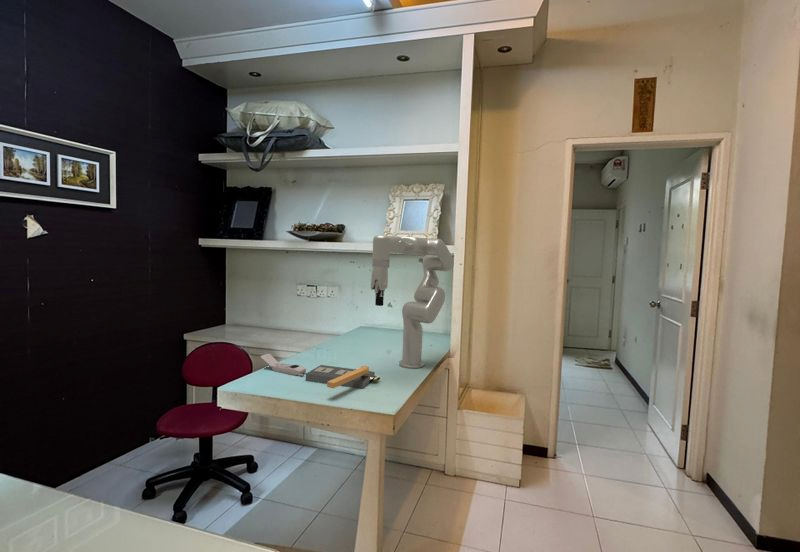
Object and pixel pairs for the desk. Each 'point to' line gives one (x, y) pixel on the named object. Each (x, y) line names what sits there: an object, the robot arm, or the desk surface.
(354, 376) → the orange wooden bar
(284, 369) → the pale grey angled bar
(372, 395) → the desk surface
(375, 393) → the desk surface
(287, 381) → the desk surface
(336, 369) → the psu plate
